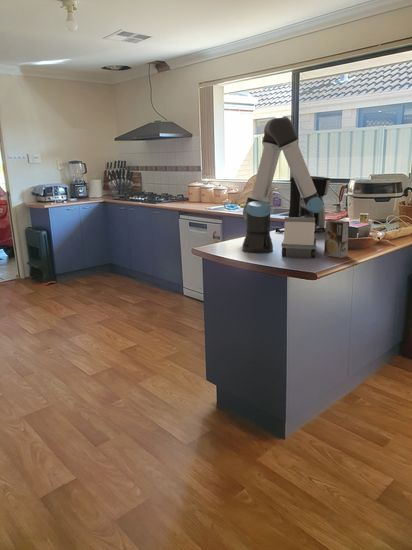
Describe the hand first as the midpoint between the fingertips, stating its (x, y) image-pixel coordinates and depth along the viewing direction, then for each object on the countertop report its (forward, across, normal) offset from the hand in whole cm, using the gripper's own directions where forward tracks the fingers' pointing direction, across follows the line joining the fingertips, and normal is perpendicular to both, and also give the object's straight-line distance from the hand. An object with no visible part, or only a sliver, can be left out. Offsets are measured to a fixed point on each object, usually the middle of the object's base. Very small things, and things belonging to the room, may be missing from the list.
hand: (304, 231), depth 194 cm
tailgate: (+1, +2, -6) cm, 7 cm away
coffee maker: (-79, +4, -12) cm, 80 cm away
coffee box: (-8, -14, -12) cm, 21 cm away
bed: (-7, +2, -12) cm, 14 cm away
